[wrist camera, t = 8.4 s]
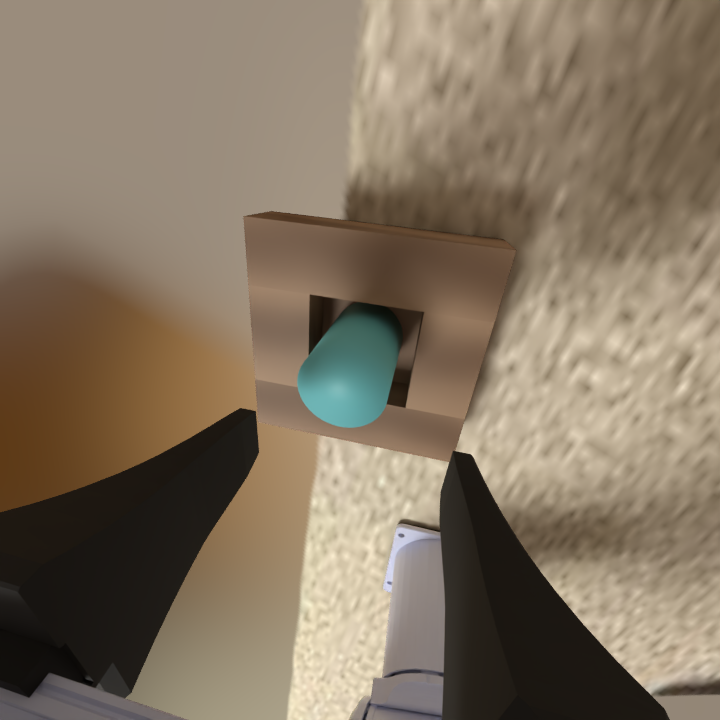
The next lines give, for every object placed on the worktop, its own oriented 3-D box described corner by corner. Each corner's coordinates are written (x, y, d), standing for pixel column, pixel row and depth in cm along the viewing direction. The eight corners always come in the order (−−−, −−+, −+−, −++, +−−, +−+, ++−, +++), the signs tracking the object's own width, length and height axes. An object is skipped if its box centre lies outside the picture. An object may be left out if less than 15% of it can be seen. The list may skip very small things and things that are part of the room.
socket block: (449, 429, 22) (451, 462, 20) (277, 395, 24) (258, 422, 21) (503, 239, 16) (516, 250, 14) (271, 211, 18) (243, 216, 15)
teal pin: (396, 370, 20) (380, 435, 15) (333, 357, 21) (296, 416, 16) (408, 308, 18) (394, 359, 13) (337, 295, 19) (297, 340, 14)
